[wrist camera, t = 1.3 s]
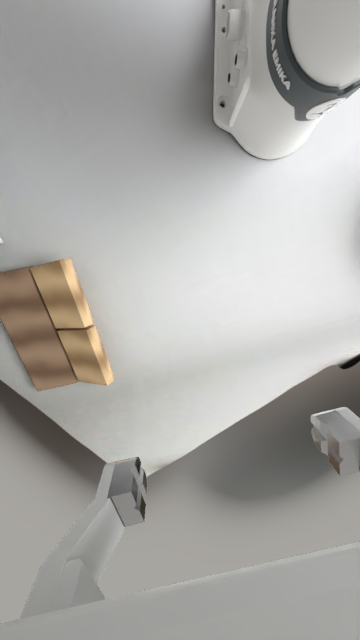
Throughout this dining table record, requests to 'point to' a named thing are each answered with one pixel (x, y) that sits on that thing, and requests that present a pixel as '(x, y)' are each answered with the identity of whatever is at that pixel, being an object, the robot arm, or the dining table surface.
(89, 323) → the plank
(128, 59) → the dining table surface
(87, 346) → the plank
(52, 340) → the base board
